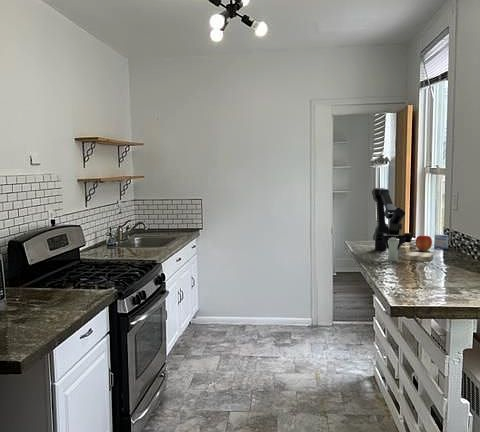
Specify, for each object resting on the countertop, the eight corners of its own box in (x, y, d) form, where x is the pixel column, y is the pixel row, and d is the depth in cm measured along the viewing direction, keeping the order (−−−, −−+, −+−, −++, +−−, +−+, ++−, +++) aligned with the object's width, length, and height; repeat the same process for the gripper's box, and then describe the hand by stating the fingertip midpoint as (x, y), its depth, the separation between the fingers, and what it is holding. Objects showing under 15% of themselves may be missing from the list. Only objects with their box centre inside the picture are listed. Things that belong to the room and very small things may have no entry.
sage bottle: (387, 260, 264) (387, 237, 263) (389, 259, 269) (389, 236, 267) (396, 261, 262) (397, 238, 260) (398, 260, 266) (399, 237, 265)
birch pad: (405, 259, 268) (405, 255, 268) (409, 255, 279) (409, 251, 279) (429, 261, 262) (430, 257, 261) (433, 257, 273) (433, 253, 273)
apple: (434, 252, 290) (434, 236, 289) (418, 252, 290) (419, 236, 289) (428, 249, 299) (428, 233, 298) (413, 249, 300) (413, 233, 299)
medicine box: (433, 248, 304) (434, 234, 304) (434, 247, 308) (435, 234, 307) (447, 249, 301) (447, 235, 300) (447, 248, 305) (448, 234, 304)
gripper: (377, 217, 270) (375, 239, 260) (411, 218, 263) (411, 241, 254) (377, 229, 278) (375, 251, 269) (411, 231, 272) (410, 253, 262)
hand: (393, 249), depth 263 cm, fingers closed on sage bottle, 5 cm apart
